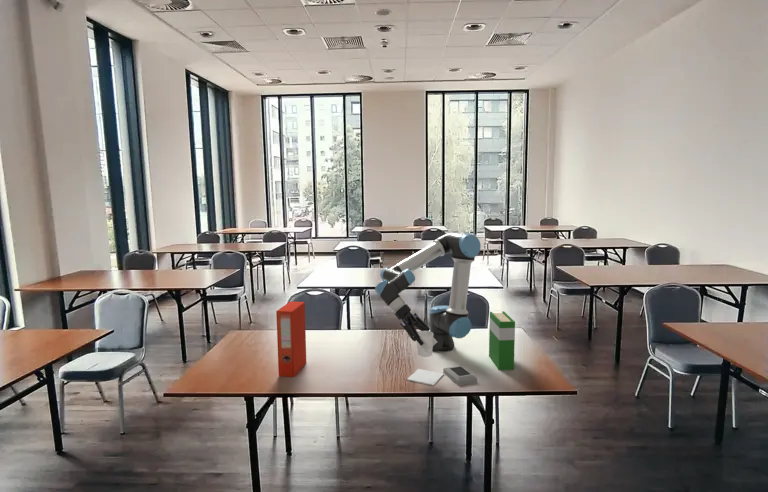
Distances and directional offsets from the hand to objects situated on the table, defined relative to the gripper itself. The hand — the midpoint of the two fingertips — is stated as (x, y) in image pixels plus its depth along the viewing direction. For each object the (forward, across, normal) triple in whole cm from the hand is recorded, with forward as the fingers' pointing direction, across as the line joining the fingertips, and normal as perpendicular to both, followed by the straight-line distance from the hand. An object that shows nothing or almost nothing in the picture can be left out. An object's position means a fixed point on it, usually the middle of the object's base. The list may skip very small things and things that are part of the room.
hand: (431, 346), depth 210 cm
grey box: (+19, -7, -4) cm, 21 cm away
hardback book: (+28, -33, +6) cm, 44 cm away
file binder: (-35, +20, -57) cm, 70 cm away
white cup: (+1, 0, -6) cm, 6 cm away
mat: (+9, 0, -13) cm, 16 cm away
